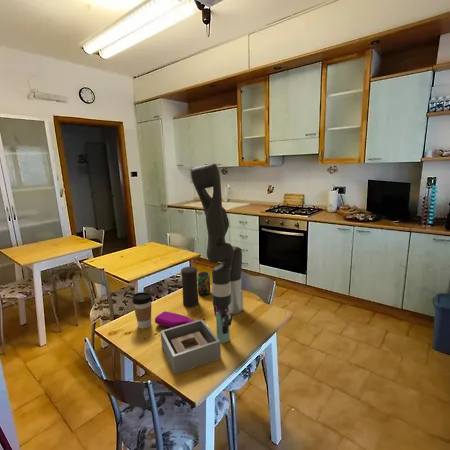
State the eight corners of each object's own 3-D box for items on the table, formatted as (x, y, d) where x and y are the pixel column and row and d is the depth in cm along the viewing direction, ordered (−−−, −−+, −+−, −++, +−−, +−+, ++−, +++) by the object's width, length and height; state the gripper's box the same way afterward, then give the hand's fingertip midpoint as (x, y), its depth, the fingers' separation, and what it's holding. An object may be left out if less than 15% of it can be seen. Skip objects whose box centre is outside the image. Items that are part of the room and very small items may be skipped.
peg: (225, 335, 120) (224, 309, 117) (229, 340, 116) (229, 314, 114) (217, 338, 118) (215, 312, 116) (221, 343, 114) (220, 316, 112)
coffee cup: (137, 320, 134) (134, 291, 131) (155, 319, 134) (152, 290, 131) (133, 330, 126) (129, 299, 123) (152, 329, 126) (149, 298, 123)
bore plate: (198, 337, 117) (198, 330, 117) (210, 353, 107) (209, 346, 106) (170, 346, 112) (170, 339, 112) (180, 364, 102) (179, 356, 101)
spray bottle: (164, 316, 137) (211, 327, 130) (152, 324, 126) (202, 337, 119) (165, 310, 137) (212, 321, 129) (152, 317, 126) (203, 330, 119)
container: (201, 300, 152) (199, 265, 148) (195, 308, 144) (193, 271, 140) (186, 299, 154) (184, 264, 150) (180, 307, 146) (177, 270, 142)
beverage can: (203, 297, 156) (202, 277, 154) (195, 293, 161) (194, 273, 159) (212, 293, 161) (212, 273, 158) (205, 289, 166) (204, 270, 163)
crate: (202, 333, 121) (202, 319, 120) (220, 357, 106) (220, 341, 104) (161, 346, 114) (160, 330, 112) (174, 374, 98) (173, 356, 96)
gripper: (238, 296, 108) (239, 336, 112) (222, 283, 121) (223, 320, 124) (220, 301, 105) (222, 342, 108) (206, 287, 117) (208, 324, 121)
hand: (223, 330), depth 116 cm, fingers closed on peg, 4 cm apart
